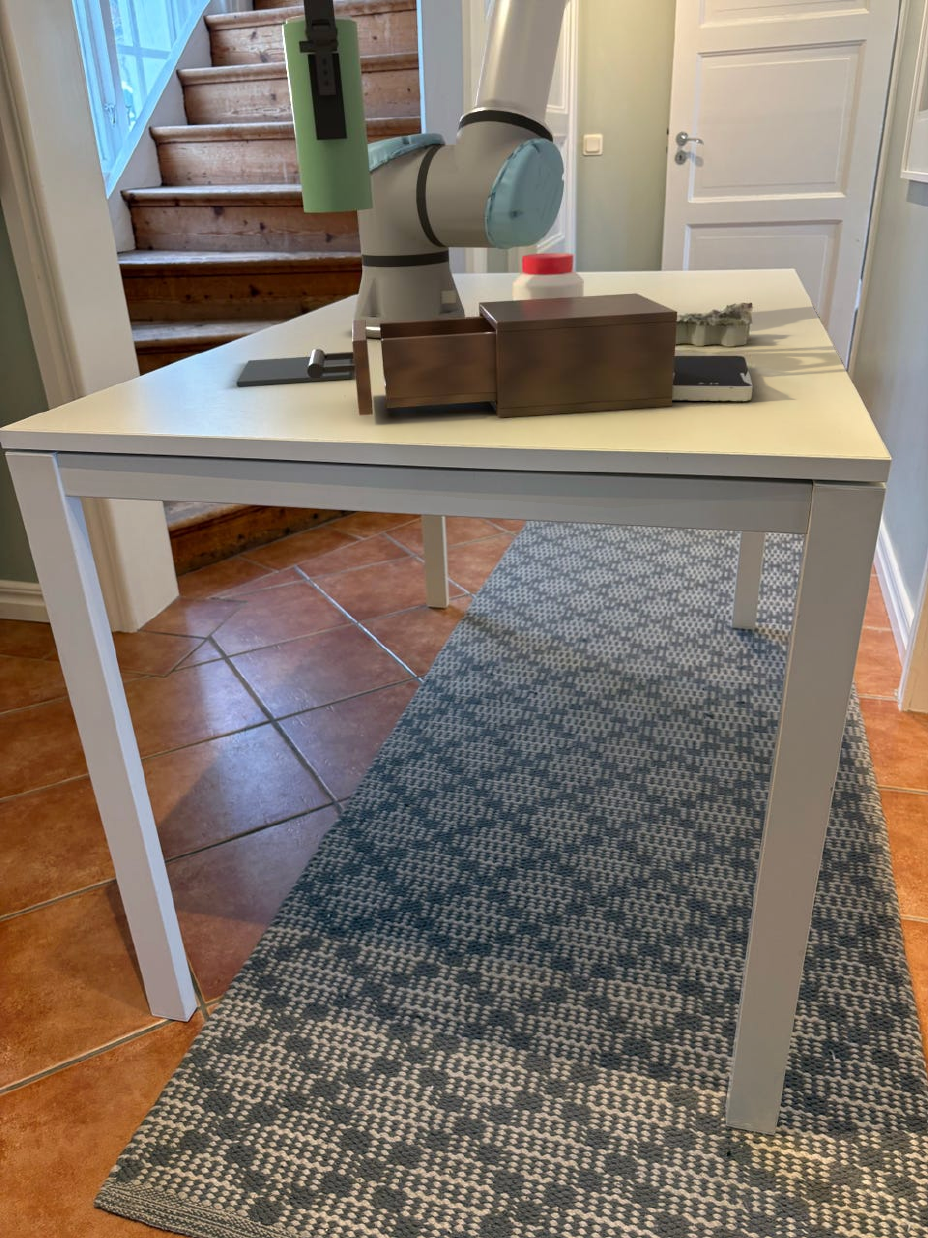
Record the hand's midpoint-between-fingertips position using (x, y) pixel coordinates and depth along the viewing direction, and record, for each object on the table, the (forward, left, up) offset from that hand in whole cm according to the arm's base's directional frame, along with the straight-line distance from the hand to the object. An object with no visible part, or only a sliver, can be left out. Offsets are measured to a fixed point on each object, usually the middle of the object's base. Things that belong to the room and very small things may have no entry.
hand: (331, 139), depth 84 cm
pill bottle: (-6, +21, -23) cm, 32 cm away
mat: (-9, -7, -23) cm, 25 cm away
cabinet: (+11, +20, -23) cm, 33 cm away
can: (0, 0, -6) cm, 6 cm away
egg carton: (-12, +41, -23) cm, 49 cm away
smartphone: (+10, +34, -23) cm, 42 cm away
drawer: (+11, +6, -22) cm, 25 cm away
